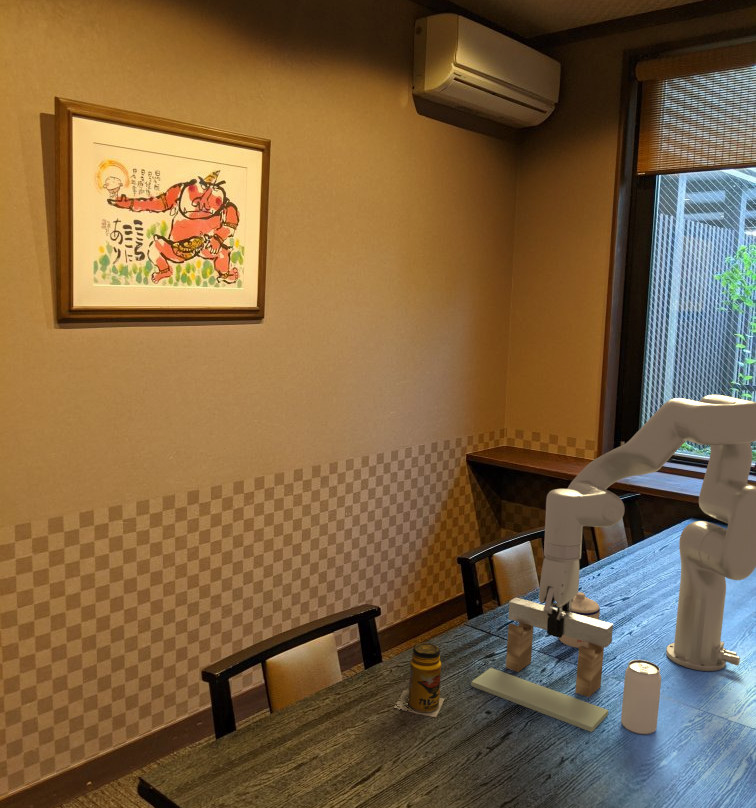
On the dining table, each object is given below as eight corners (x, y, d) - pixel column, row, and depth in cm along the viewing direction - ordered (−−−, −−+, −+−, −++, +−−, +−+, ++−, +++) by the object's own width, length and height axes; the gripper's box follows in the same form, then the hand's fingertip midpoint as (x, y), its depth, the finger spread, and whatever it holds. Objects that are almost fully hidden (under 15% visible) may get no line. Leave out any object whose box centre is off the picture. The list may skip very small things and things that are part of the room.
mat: (607, 714, 154) (608, 710, 154) (591, 732, 148) (592, 727, 148) (490, 672, 170) (490, 667, 170) (471, 686, 164) (471, 681, 163)
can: (656, 721, 153) (662, 662, 151) (656, 738, 147) (662, 677, 145) (621, 714, 155) (626, 656, 153) (620, 731, 149) (625, 671, 147)
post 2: (600, 686, 165) (604, 641, 164) (589, 697, 161) (592, 651, 159) (587, 681, 167) (590, 637, 166) (575, 692, 163) (578, 647, 161)
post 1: (530, 662, 175) (533, 620, 174) (518, 672, 170) (521, 628, 169) (518, 658, 177) (521, 616, 175) (505, 667, 172) (508, 624, 171)
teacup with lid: (580, 652, 181) (584, 604, 179) (549, 638, 188) (552, 591, 186) (612, 640, 188) (616, 593, 186) (581, 626, 195) (585, 581, 193)
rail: (611, 642, 162) (612, 624, 161) (606, 647, 160) (607, 628, 159) (515, 614, 175) (515, 597, 175) (508, 618, 173) (509, 601, 172)
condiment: (436, 718, 151) (439, 658, 149) (393, 709, 153) (396, 650, 152) (444, 699, 158) (447, 642, 156) (403, 691, 160) (406, 635, 159)
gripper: (562, 535, 173) (558, 615, 176) (528, 555, 161) (524, 641, 163) (595, 542, 169) (590, 624, 172) (562, 563, 156) (558, 651, 159)
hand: (558, 631), depth 168 cm, fingers closed on rail, 3 cm apart
